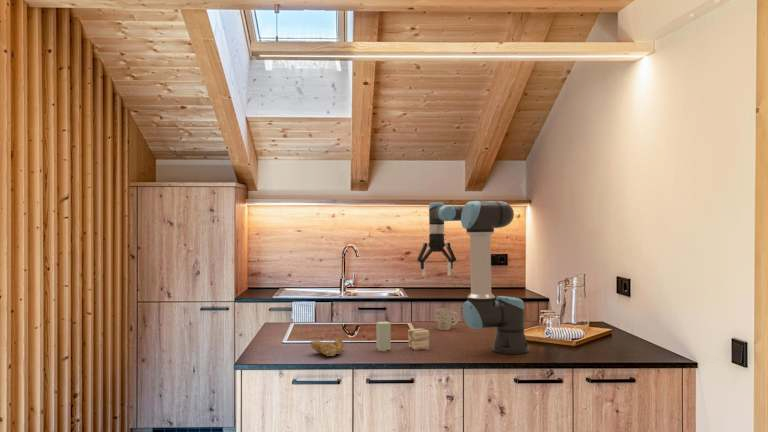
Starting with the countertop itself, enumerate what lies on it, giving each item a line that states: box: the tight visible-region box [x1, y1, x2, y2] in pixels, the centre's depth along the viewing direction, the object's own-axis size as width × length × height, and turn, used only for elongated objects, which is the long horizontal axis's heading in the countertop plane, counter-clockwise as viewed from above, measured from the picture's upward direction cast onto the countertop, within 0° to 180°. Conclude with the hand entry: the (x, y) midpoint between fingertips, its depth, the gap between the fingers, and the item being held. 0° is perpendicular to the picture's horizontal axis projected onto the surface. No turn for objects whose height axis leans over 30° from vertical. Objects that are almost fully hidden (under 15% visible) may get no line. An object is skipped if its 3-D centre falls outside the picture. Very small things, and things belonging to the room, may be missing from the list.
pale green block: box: [375, 321, 392, 350], centre depth 270 cm, size 5×5×12 cm
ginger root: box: [310, 337, 346, 357], centre depth 262 cm, size 16×16×8 cm
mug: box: [435, 307, 460, 331], centre depth 317 cm, size 8×13×10 cm, turn 115°
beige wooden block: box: [408, 339, 430, 351], centre depth 273 cm, size 7×7×4 cm
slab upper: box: [407, 327, 430, 342], centre depth 273 cm, size 7×7×4 cm
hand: (436, 275), depth 309 cm, fingers open, 13 cm apart
